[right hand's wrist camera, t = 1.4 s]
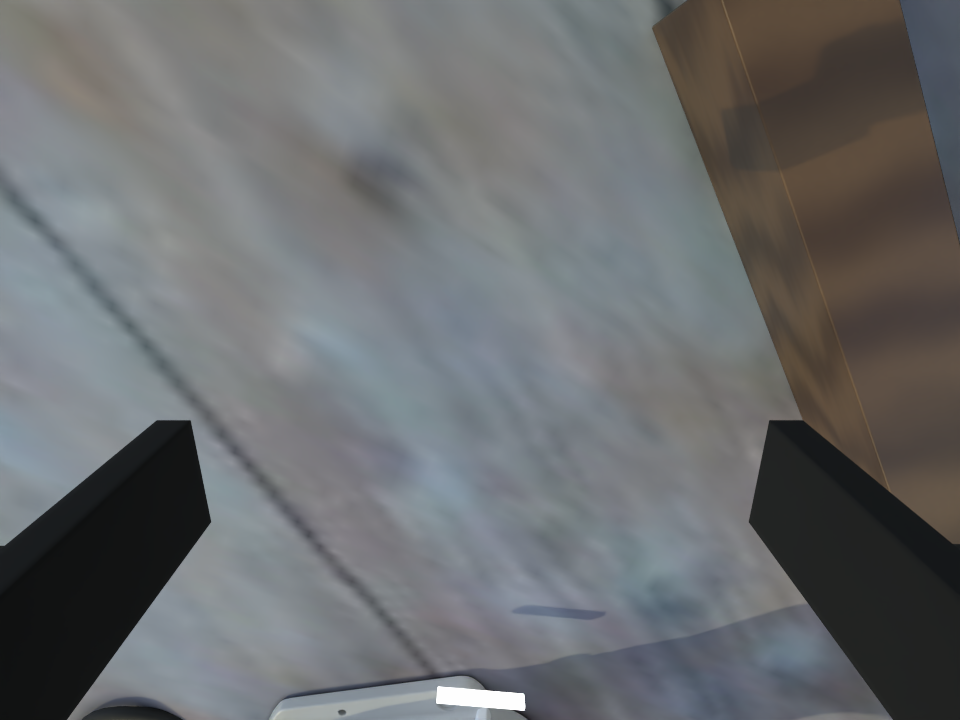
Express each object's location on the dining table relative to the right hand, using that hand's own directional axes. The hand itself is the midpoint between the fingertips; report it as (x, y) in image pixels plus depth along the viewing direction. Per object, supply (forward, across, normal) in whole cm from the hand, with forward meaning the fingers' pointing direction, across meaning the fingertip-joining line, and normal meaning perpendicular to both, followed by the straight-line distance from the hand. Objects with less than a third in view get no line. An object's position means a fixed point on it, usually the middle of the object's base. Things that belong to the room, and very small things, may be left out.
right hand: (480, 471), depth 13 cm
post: (+19, +27, -15) cm, 36 cm away
